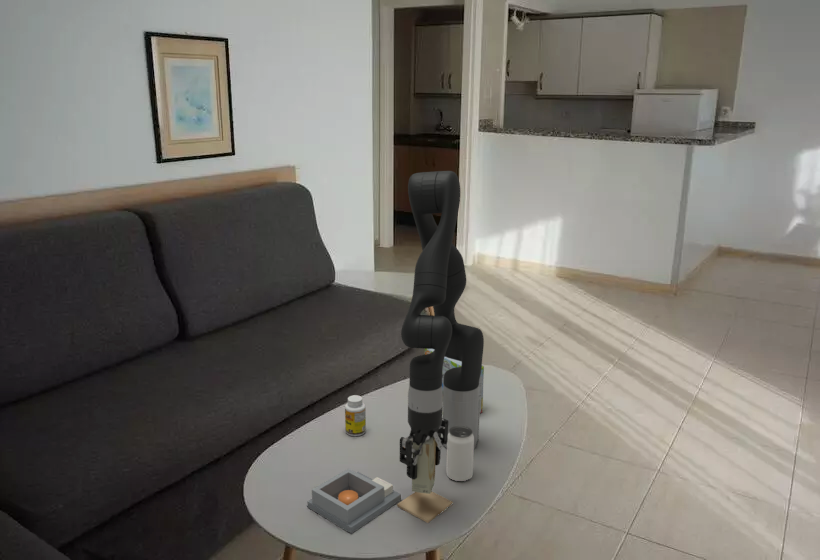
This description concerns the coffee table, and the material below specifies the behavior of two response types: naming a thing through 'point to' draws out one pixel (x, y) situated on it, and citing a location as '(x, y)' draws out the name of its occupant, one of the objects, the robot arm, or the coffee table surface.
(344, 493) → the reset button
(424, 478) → the skincare box
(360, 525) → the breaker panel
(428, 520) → the cork coaster
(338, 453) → the coffee table surface
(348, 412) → the supplement bottle
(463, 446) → the can
